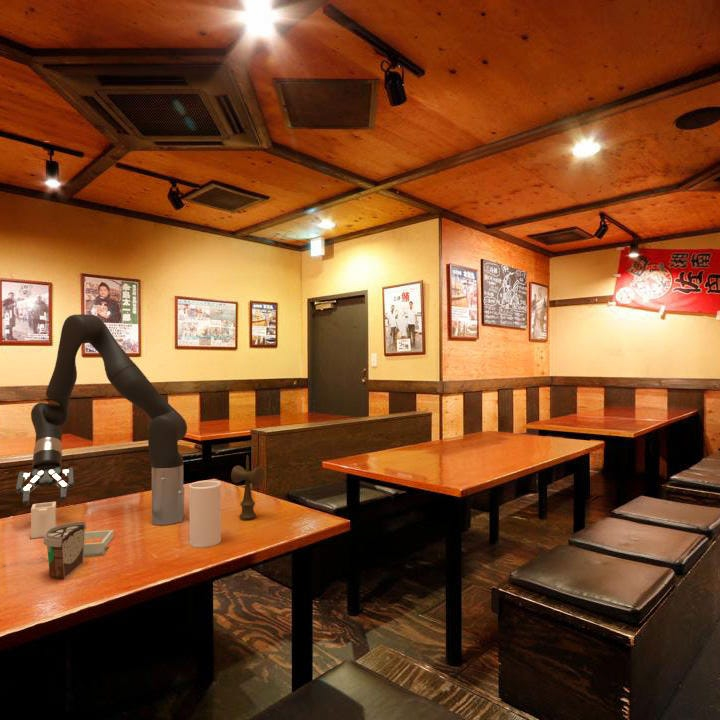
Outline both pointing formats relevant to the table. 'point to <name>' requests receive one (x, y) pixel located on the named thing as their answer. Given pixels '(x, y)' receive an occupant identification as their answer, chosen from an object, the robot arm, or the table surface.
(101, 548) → the tray
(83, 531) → the food container
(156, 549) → the table surface
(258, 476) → the kendama
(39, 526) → the cream open box
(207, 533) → the cup
